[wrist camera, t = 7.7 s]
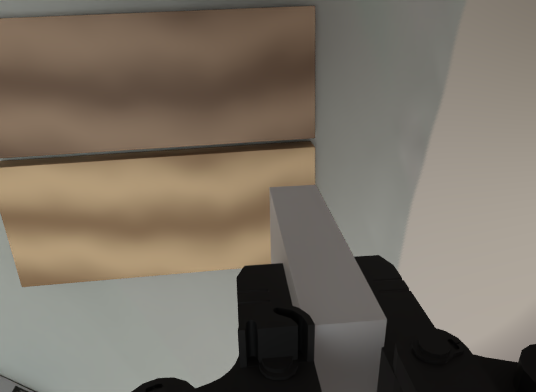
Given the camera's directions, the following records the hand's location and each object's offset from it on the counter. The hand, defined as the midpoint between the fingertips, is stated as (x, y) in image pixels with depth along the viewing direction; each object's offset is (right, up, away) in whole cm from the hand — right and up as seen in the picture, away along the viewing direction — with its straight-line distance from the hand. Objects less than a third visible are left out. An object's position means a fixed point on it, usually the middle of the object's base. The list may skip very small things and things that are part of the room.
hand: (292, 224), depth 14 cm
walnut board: (-10, +9, +18) cm, 22 cm away
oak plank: (-9, 0, +21) cm, 23 cm away
